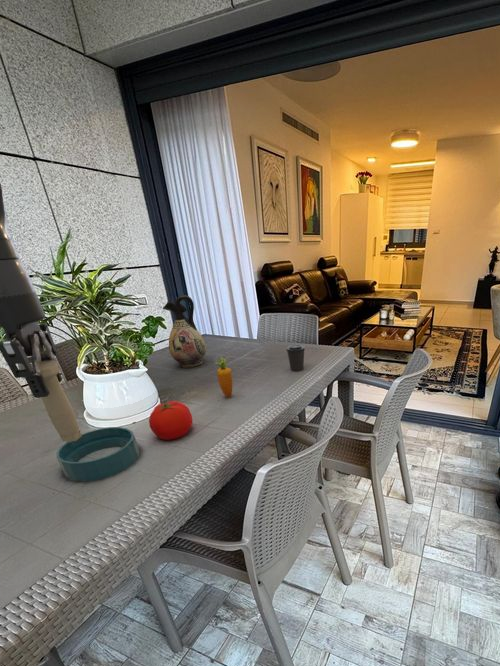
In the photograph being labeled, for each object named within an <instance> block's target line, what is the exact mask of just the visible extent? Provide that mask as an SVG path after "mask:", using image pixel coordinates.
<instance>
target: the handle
mask: <svg viewBox="0 0 500 666" xmlns="http://www.w3.org/2000/svg"><path fill="white" fill-rule="evenodd" d="M30 364H31V366H32V363H30ZM32 368H33V367H32ZM39 368H40V373H41V375H42V377H43V379H44V381H45V383H46V386H47V388H48V390H49V392H50V394H49V395H48V396H47V397H41V401H42V402H43V405H44V407H45V408H44V409H45V411H46V413H47V415H48V418H49V419H50V421H51V424H52V425H53V427H54V429H55V431H56V433H57V434H58V435H59V437H60V439H61V440H62V441H63V442H65V443H66V442H67V443H69V442H72V441H77V440H78V439H79V438H80V437H81V436H82V435H81V434H82V431H81V430H80V425H79V422H78V419H77V416H76V413H75V411H74V409H73V407H72V405H71V403H70V401H69V399H68V397H67V395H66V393H65V391H64V388H63V386H62V385H61V382H59V381H58V378H57V376H56V375H57V374H58V373H59V372H60V367H59V364H58V362H57V360H56V361H53V360H47V361H41V362H39ZM60 373H61V372H60Z"/></svg>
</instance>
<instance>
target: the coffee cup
mask: <svg viewBox="0 0 500 666" xmlns="http://www.w3.org/2000/svg"><path fill="white" fill-rule="evenodd" d="M305 350H306V346H304V345H302V344H301V345H300V344H292V345H289V346H287V347H286V348H285V351H287V357H288V362H289V367H290V371H292V372H301V371H303V370H304V362H305Z"/></svg>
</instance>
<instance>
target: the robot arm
mask: <svg viewBox="0 0 500 666" xmlns="http://www.w3.org/2000/svg"><path fill="white" fill-rule="evenodd" d="M7 221H8V220H7V211H6V205H5V197H4V191H3V183H2V179H1V177H0V328H2V329H3V330H4V334H5V338H6V340H3V341H0V353H1V355H2V357H3V359H4V360H5V362H6V364H7V366H8V368H9V369H10V371H11V373H12V375H13V377H14V378H15V379H20V378H22V379H24V380H25V382H26V383H27V385H28V388H29V390H30V392H31V394H32V396H33V397H34V398H35V399H39V398H42V397H47V396H48V395H49V394H50V392H49V390H48V388H47V386H46V383H45V381H44V379H43V377H42V375H41V373H40V368H39V362H41V361H47V360H53V361H56V362H57V358H56V356H58V355H59V352H58V350H57V347H56V344H55V342H54V339H53V336H52V334H51V330H50V328H49V326H48V323H46V322H40V321H43V320H44V319H45V318H46V313H45V311H44V307H43V306H42V303H41V301H40V299H39V296H38V294H37V291H36V289H35V287H34V284H33V282H32V279H31V277H30V275H29V273H28V271H27V269H26V267H25V265H24V263H23V262H22V259H21V258H20V255H19V253H18V251H17V248H16V245H15V244H14V240H13V239H12V236H11V234H10V231H9V229H8V222H7ZM38 322H40V323H38ZM31 364H32V366H31ZM32 367H33V368H32ZM56 376H57V378H58V381H59V383H61V382H62V381H63V377H62V375H61V372H59V373H58V374H57V375H56Z"/></svg>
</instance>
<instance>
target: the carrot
mask: <svg viewBox="0 0 500 666" xmlns="http://www.w3.org/2000/svg"><path fill="white" fill-rule="evenodd" d="M219 360H220V363H219V362H214V364H215V365H217V366H218V367H219V368H218V369H217V372H216V374H217V375H216V376H217V379H218V383H219V386H220V389H221V391H222V393H223V395H224V397H225V398H227V399H230V398H231V397H232V394H233V375H232V369H231V368H230V367H227V366H226V365H227V359H225V358H224V357H222V356H220V357H219Z"/></svg>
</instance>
